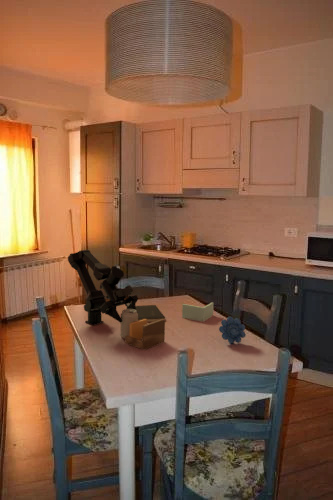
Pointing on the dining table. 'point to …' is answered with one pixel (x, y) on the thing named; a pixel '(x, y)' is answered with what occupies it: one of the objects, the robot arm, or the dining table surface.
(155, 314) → the hardcover book
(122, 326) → the can
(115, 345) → the dining table surface
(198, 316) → the right angle wall
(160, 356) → the dining table surface
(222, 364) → the dining table surface
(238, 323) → the grapes
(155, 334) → the brown wooden crate
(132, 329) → the pusher
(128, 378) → the dining table surface
